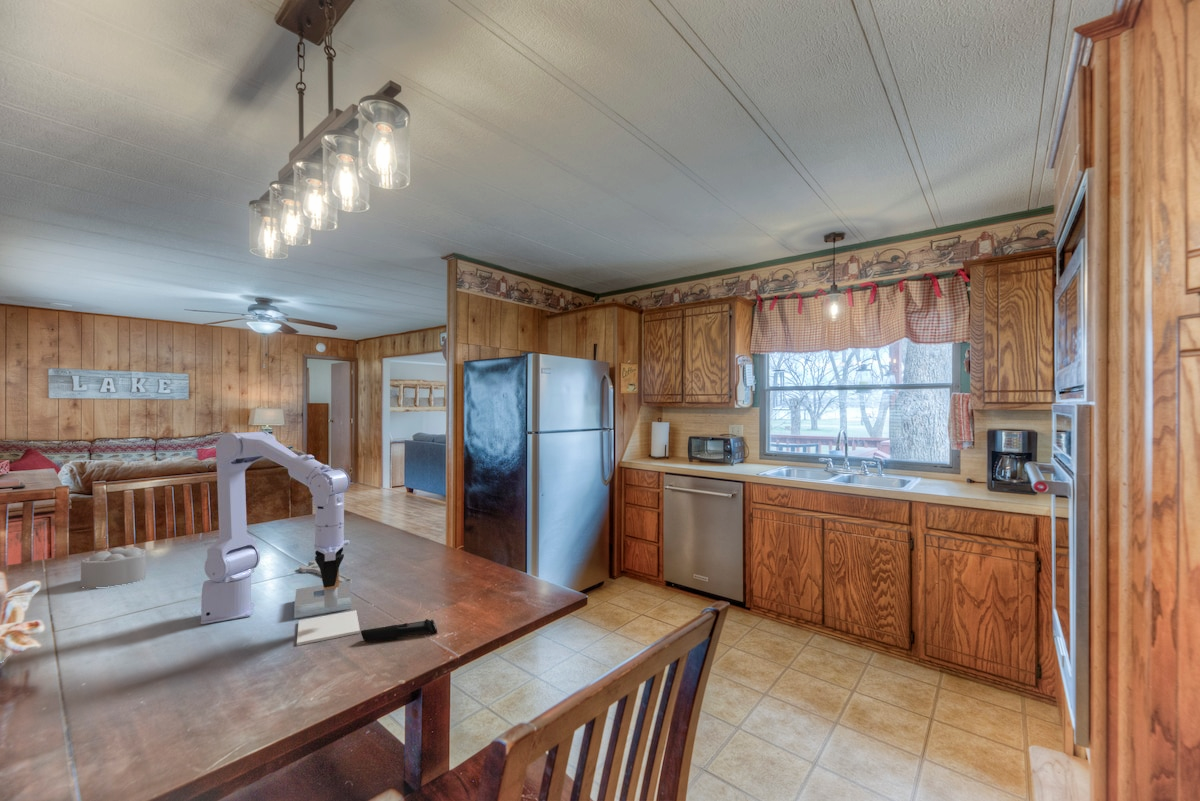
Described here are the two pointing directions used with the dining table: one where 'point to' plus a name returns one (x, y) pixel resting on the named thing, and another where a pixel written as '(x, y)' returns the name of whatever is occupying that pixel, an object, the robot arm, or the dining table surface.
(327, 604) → the key
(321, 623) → the mat
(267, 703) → the dining table surface
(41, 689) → the dining table surface
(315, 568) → the adjustable wrench
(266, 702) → the dining table surface
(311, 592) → the socket block
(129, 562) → the egg container
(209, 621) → the robot arm
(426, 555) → the dining table surface
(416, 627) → the electric trimmer
